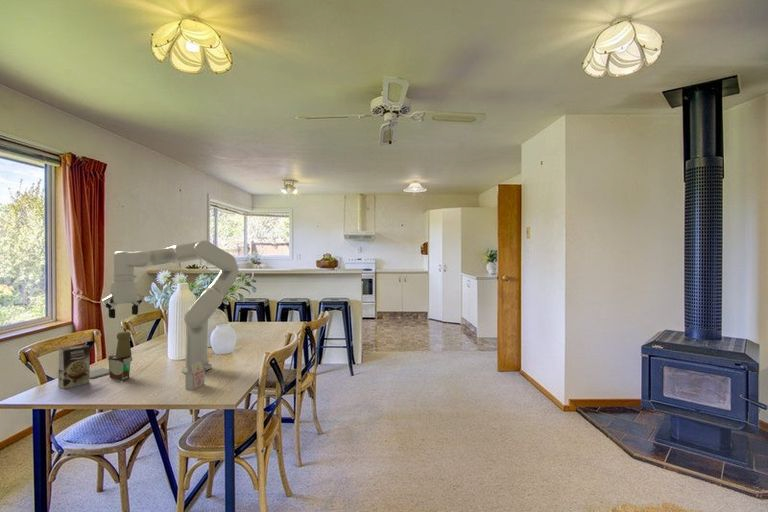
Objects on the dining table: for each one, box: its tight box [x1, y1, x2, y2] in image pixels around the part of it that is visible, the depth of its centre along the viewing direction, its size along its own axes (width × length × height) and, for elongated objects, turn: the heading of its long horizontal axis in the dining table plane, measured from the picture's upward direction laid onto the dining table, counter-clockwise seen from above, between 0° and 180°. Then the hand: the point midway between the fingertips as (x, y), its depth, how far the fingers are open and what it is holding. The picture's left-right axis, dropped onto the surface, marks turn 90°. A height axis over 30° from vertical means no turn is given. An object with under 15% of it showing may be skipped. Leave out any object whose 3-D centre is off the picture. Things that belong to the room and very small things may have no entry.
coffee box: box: [57, 344, 91, 390], centre depth 157 cm, size 9×6×16 cm
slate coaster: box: [89, 367, 109, 380], centre depth 170 cm, size 10×10×1 cm
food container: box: [107, 354, 133, 382], centre depth 165 cm, size 12×6×10 cm, turn 65°
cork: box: [115, 330, 133, 358], centre depth 165 cm, size 6×6×11 cm
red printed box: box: [184, 361, 206, 391], centre depth 155 cm, size 4×7×10 cm, turn 167°
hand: (123, 316), depth 165 cm, fingers open, 9 cm apart
